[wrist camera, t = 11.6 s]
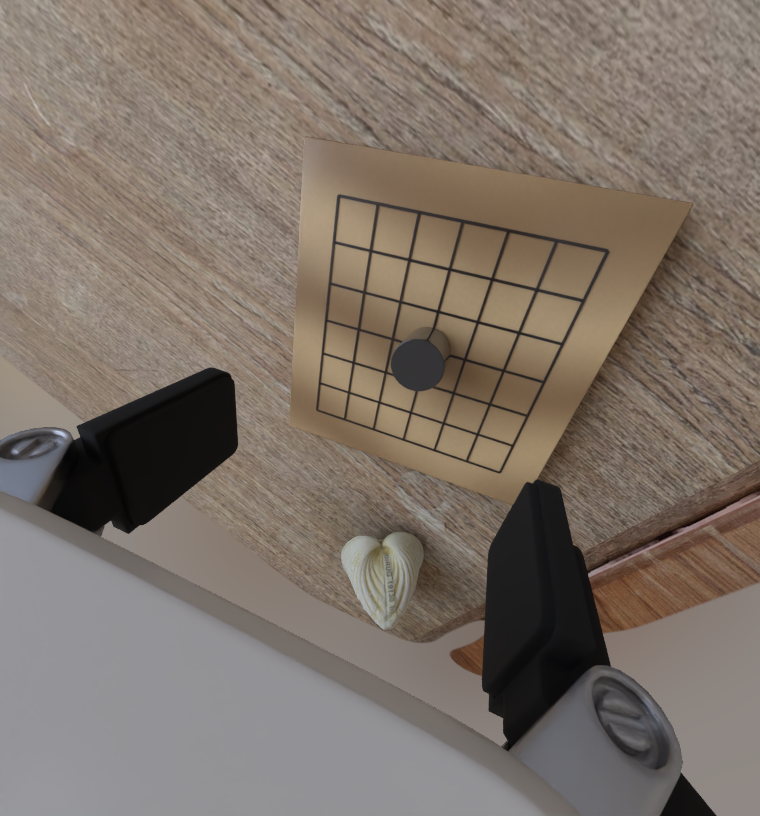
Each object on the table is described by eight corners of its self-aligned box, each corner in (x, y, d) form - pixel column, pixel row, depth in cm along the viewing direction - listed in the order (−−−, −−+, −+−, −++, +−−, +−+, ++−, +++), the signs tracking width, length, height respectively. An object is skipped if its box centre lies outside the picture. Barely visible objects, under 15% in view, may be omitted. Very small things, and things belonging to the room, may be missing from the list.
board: (316, 142, 20) (303, 135, 18) (679, 206, 16) (695, 202, 15) (297, 417, 30) (288, 425, 28) (519, 495, 26) (520, 509, 25)
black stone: (409, 321, 21) (396, 332, 18) (457, 334, 20) (451, 348, 18) (399, 366, 23) (385, 382, 20) (443, 379, 22) (436, 398, 19)
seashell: (431, 537, 28) (438, 636, 27) (415, 515, 36) (419, 590, 35) (336, 544, 27) (340, 645, 27) (342, 519, 36) (345, 595, 35)
